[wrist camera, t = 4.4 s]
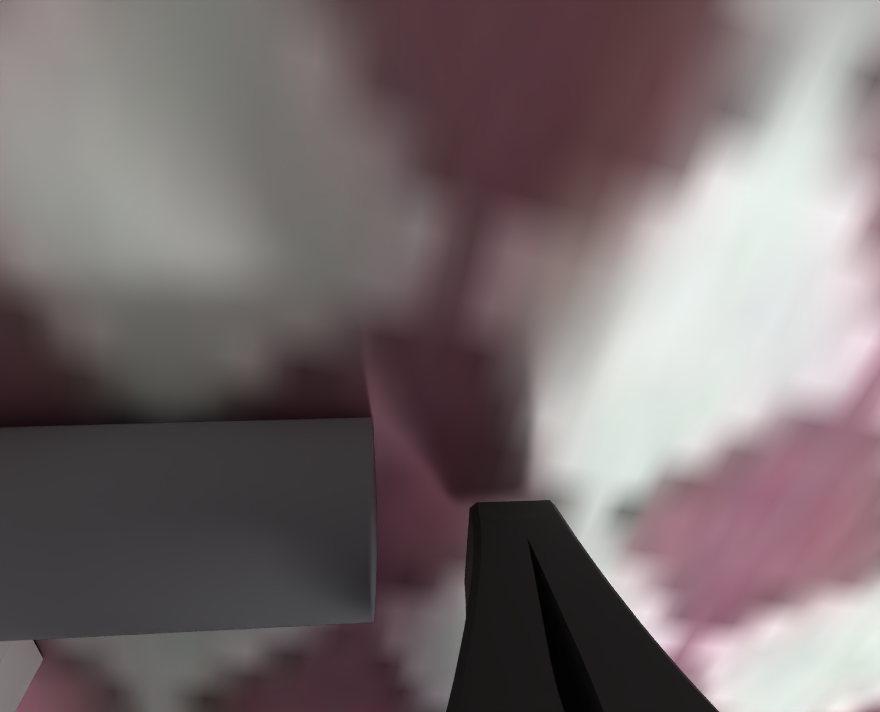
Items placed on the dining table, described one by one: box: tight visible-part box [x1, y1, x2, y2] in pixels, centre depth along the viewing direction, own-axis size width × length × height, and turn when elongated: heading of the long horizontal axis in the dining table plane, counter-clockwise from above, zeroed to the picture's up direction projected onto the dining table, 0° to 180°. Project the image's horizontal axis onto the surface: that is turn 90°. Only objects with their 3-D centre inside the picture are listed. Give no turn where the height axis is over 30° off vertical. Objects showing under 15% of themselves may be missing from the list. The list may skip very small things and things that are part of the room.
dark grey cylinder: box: [0, 417, 377, 641], centre depth 9 cm, size 8×3×3 cm
